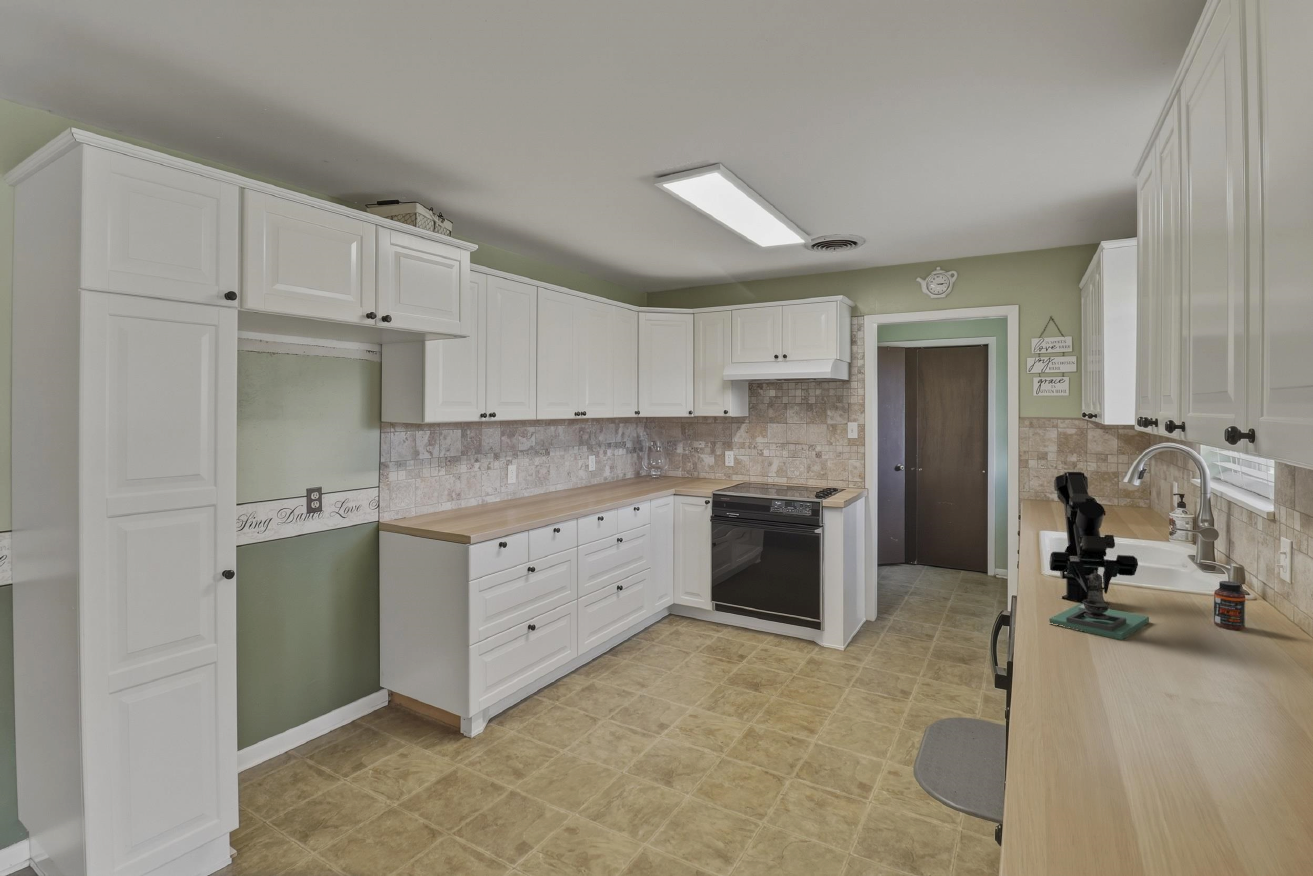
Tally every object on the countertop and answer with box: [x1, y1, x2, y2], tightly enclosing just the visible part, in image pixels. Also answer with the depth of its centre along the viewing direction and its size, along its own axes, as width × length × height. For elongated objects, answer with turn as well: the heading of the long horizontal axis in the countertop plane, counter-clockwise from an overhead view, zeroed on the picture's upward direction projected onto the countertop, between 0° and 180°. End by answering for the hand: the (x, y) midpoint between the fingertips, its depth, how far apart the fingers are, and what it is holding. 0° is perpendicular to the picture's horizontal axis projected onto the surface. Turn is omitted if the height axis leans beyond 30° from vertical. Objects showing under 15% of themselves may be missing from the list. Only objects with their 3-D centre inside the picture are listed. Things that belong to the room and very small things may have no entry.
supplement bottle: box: [1213, 580, 1246, 631], centre depth 162 cm, size 6×6×11 cm
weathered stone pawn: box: [1081, 570, 1111, 620], centre depth 164 cm, size 6×6×12 cm
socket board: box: [1048, 603, 1150, 641], centre depth 168 cm, size 20×16×3 cm
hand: (1096, 592), depth 163 cm, fingers closed on weathered stone pawn, 4 cm apart
